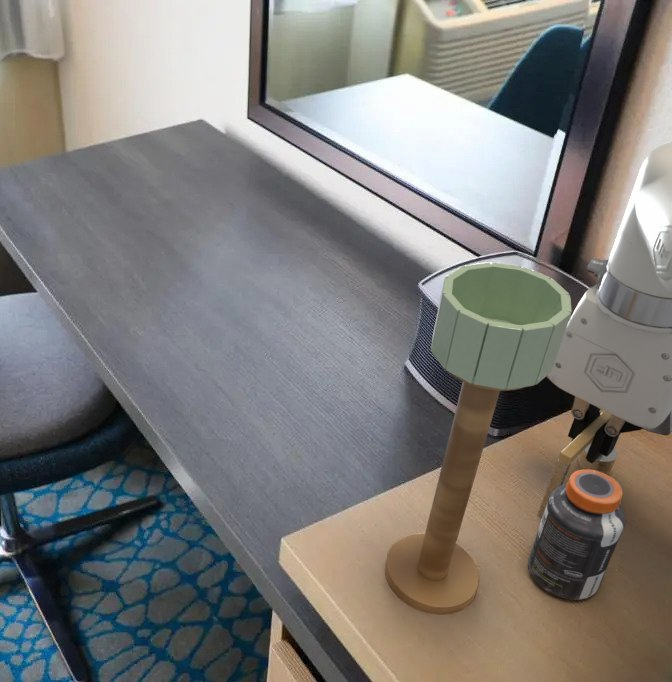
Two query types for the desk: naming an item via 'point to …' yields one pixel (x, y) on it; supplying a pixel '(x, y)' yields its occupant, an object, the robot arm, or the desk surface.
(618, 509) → the pill bottle
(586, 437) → the wood-topped metal bracket
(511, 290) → the bowl
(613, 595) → the desk surface
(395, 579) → the stand
